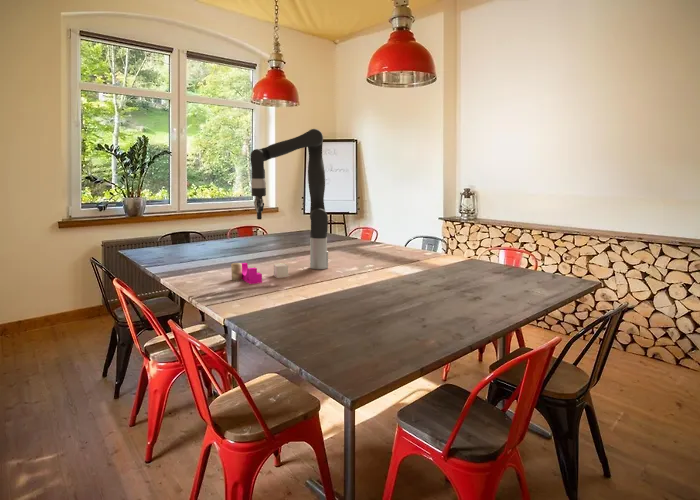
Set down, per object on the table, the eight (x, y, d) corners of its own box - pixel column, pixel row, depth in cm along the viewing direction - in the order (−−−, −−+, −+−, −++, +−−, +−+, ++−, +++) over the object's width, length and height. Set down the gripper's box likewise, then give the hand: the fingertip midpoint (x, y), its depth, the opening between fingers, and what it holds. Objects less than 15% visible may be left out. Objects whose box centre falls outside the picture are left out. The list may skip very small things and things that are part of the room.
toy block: (262, 283, 222) (261, 268, 220) (249, 284, 219) (249, 269, 217) (251, 276, 234) (250, 262, 233) (239, 277, 231) (238, 263, 230)
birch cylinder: (241, 278, 230) (240, 262, 228) (242, 280, 225) (242, 264, 224) (231, 279, 228) (230, 263, 226) (232, 281, 223) (232, 265, 222)
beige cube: (284, 274, 240) (284, 263, 239) (288, 277, 234) (288, 265, 233) (273, 275, 237) (273, 264, 236) (276, 278, 232) (276, 266, 231)
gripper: (268, 187, 242) (269, 220, 245) (262, 186, 254) (263, 217, 257) (254, 187, 239) (255, 220, 242) (248, 186, 250) (249, 218, 253)
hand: (259, 219), depth 249 cm, fingers closed
